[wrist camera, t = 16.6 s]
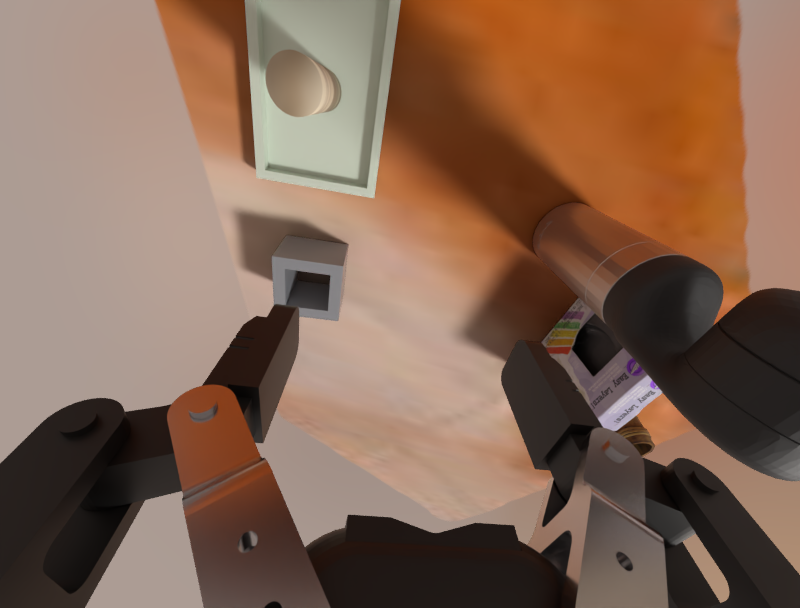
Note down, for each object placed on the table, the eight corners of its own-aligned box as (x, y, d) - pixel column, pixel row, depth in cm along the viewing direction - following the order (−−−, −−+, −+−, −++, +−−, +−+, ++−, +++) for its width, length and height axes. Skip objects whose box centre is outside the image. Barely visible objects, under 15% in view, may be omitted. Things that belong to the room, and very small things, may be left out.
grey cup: (348, 244, 44) (343, 266, 38) (343, 294, 49) (338, 321, 43) (286, 235, 43) (271, 256, 37) (287, 287, 47) (274, 313, 42)
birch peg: (342, 71, 32) (323, 57, 22) (340, 115, 34) (320, 122, 24) (304, 62, 32) (263, 43, 21) (303, 107, 34) (266, 111, 23)
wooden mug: (564, 393, 65) (620, 481, 50) (629, 385, 64) (704, 472, 49) (557, 419, 70) (605, 506, 55) (617, 412, 69) (682, 498, 54)
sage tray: (402, -18, 30) (404, -27, 27) (374, 193, 40) (374, 198, 38) (250, -61, 28) (239, -74, 26) (263, 173, 38) (256, 177, 36)
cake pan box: (583, 287, 50) (666, 365, 36) (605, 297, 52) (695, 376, 37) (514, 366, 60) (558, 453, 45) (535, 373, 61) (584, 459, 46)
